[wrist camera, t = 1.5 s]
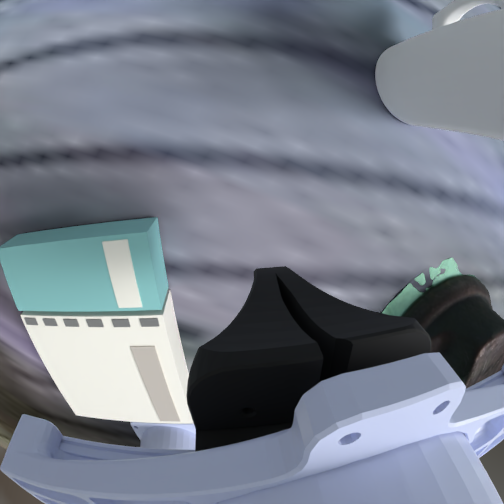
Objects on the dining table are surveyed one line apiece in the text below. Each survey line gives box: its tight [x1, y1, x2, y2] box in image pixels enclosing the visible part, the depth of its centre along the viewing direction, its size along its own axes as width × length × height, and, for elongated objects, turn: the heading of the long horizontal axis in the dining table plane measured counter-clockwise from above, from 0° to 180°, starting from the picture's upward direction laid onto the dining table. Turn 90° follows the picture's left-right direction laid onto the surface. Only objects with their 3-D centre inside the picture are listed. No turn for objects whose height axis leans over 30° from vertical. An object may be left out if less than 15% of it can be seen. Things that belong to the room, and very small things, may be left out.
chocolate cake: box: [382, 258, 504, 388], centre depth 22 cm, size 20×20×9 cm
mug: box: [375, 0, 504, 141], centre depth 10 cm, size 10×7×12 cm, turn 169°
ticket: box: [20, 289, 194, 424], centre depth 21 cm, size 12×12×3 cm
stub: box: [0, 217, 169, 312], centre depth 17 cm, size 5×12×3 cm, turn 92°
